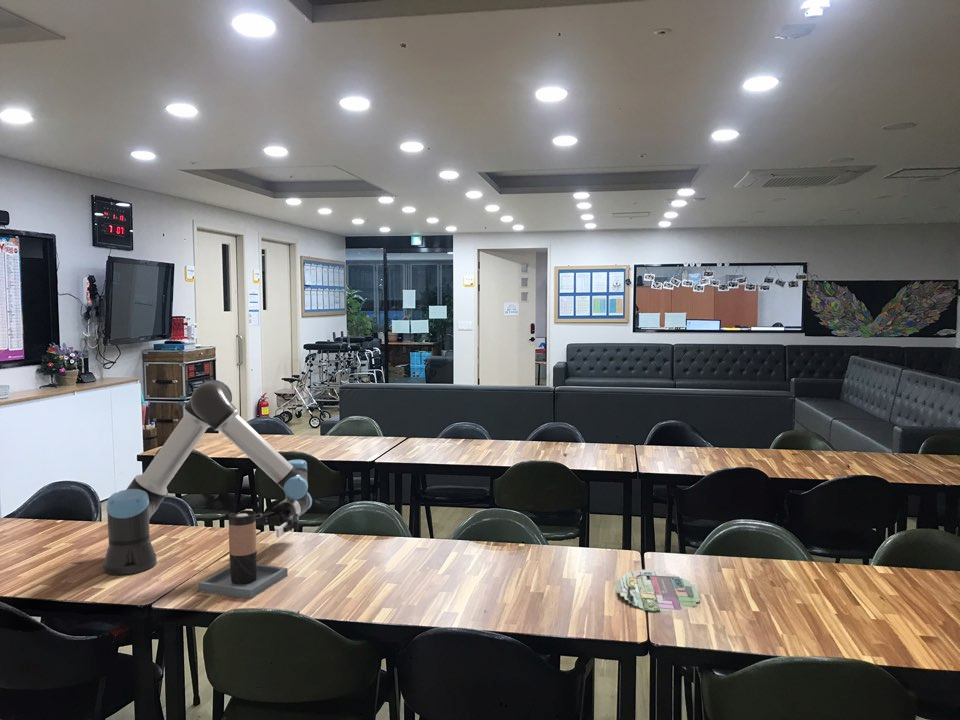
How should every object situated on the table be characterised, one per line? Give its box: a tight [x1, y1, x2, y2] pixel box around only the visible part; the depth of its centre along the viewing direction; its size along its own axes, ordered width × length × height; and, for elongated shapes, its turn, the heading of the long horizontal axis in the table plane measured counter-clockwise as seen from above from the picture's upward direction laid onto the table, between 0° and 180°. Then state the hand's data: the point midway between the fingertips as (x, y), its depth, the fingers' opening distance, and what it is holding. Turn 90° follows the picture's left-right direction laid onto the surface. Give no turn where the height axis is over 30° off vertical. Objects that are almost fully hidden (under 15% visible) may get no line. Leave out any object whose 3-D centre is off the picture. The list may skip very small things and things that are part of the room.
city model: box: [615, 569, 701, 613], centre depth 198 cm, size 25×24×6 cm
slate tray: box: [197, 563, 289, 600], centre depth 208 cm, size 18×18×2 cm
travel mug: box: [228, 509, 258, 585], centre depth 208 cm, size 8×8×20 cm
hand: (256, 532), depth 217 cm, fingers open, 13 cm apart
